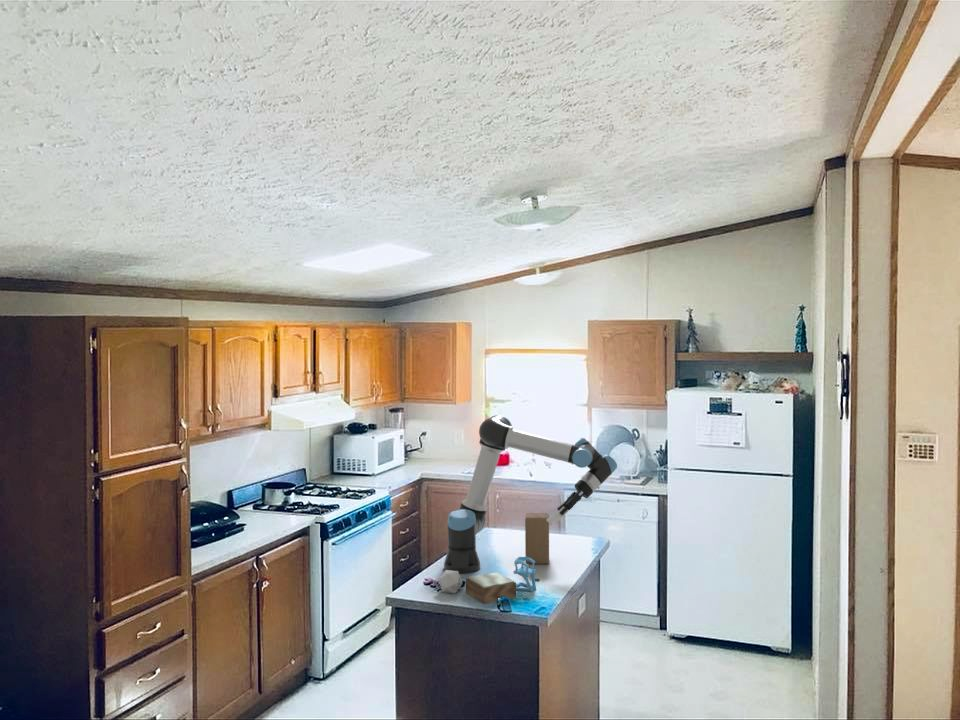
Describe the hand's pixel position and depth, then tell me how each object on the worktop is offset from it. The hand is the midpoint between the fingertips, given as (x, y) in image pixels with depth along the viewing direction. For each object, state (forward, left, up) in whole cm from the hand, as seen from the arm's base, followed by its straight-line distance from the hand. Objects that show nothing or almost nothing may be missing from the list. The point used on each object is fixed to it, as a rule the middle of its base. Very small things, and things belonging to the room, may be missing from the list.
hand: (551, 521), depth 312 cm
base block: (-22, -29, -22) cm, 42 cm away
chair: (-10, -20, -22) cm, 31 cm away
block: (-7, +17, -22) cm, 28 cm away
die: (-38, -26, -22) cm, 51 cm away
